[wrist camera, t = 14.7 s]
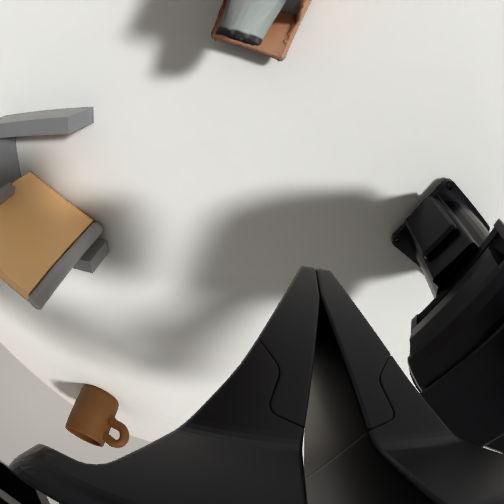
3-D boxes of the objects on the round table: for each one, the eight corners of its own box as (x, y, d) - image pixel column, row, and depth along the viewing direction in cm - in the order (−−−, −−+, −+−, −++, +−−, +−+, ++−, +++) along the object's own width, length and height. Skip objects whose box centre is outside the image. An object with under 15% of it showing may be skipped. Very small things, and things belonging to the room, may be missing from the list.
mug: (132, 395, 43) (114, 444, 35) (146, 414, 47) (132, 458, 40) (76, 379, 44) (56, 421, 37) (93, 399, 49) (77, 438, 41)
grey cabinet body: (93, 106, 18) (47, 125, 14) (108, 252, 25) (81, 289, 21) (-2, 117, 18) (-42, 136, 14) (21, 233, 26) (-7, 260, 22)
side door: (31, 164, 20) (-44, 219, 13) (107, 221, 23) (43, 298, 15) (27, 180, 21) (-42, 236, 14) (100, 236, 24) (40, 312, 16)
